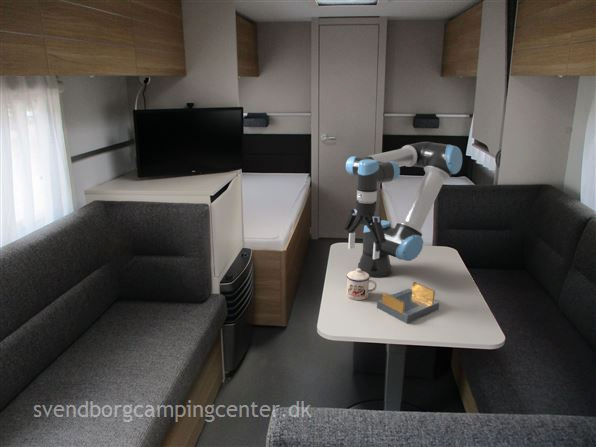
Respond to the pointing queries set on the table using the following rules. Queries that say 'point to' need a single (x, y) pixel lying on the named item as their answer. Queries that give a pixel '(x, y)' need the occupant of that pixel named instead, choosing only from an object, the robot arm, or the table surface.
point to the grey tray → (409, 303)
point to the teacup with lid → (358, 285)
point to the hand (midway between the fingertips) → (363, 253)
